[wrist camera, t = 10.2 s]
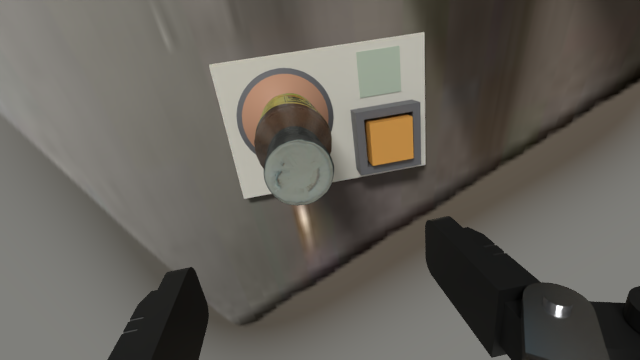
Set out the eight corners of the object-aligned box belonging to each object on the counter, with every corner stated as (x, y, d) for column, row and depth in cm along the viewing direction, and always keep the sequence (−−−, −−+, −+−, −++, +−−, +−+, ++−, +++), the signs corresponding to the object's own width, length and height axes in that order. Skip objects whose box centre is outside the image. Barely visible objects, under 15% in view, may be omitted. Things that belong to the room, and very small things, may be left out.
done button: (405, 113, 36) (412, 116, 34) (406, 153, 38) (413, 158, 36) (364, 120, 36) (369, 124, 34) (368, 160, 38) (372, 165, 36)
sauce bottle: (325, 123, 36) (378, 189, 18) (283, 154, 37) (294, 248, 19) (292, 77, 34) (315, 99, 16) (248, 111, 35) (221, 170, 16)
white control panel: (419, 32, 36) (434, 30, 32) (421, 162, 42) (434, 170, 38) (210, 64, 34) (204, 65, 30) (244, 195, 40) (242, 207, 36)
